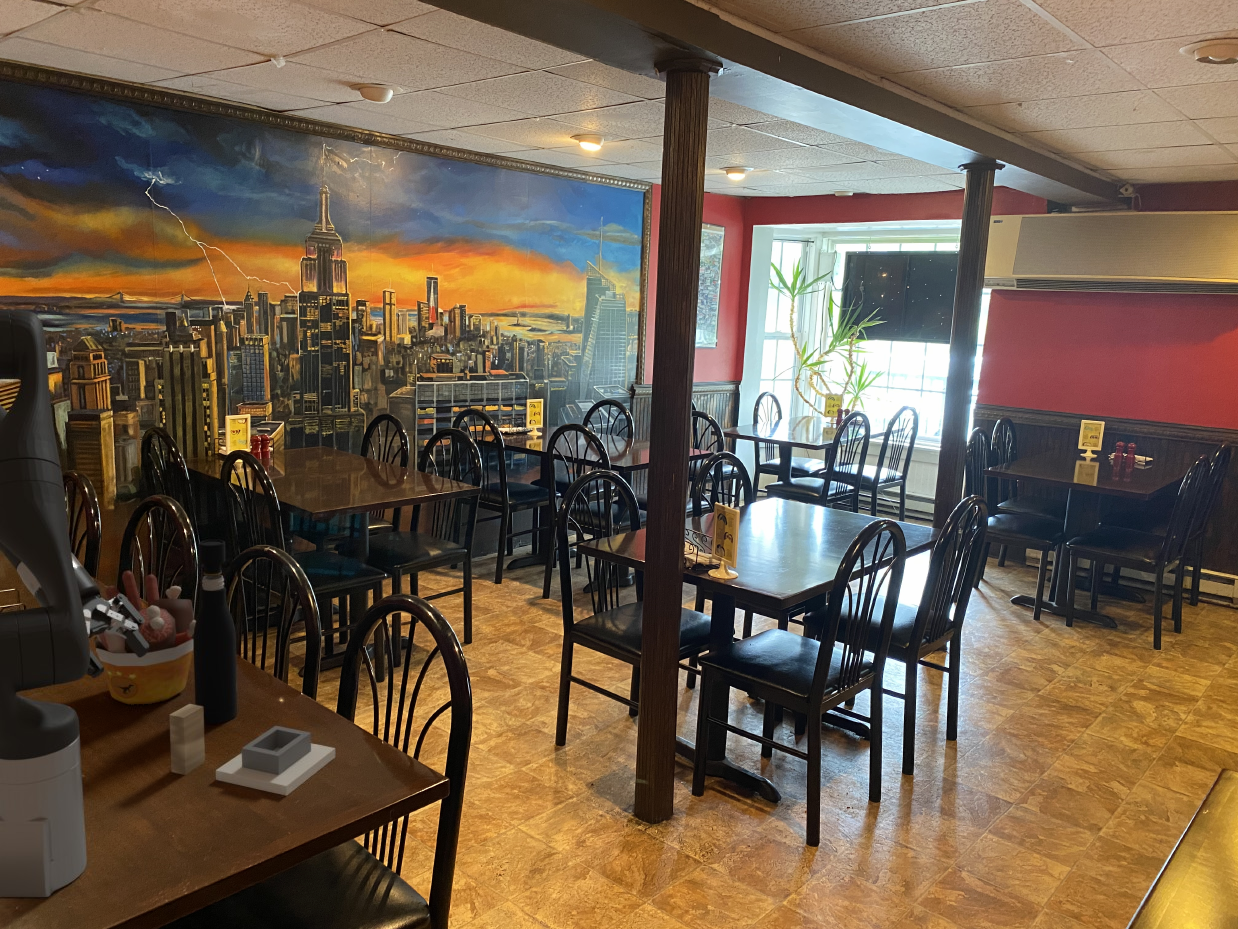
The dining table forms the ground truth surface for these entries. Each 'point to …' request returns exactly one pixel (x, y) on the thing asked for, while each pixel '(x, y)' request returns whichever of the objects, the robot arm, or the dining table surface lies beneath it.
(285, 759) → the socket base
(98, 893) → the dining table surface
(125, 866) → the dining table surface
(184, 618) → the bucket of meat
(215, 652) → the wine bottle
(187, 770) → the slat
